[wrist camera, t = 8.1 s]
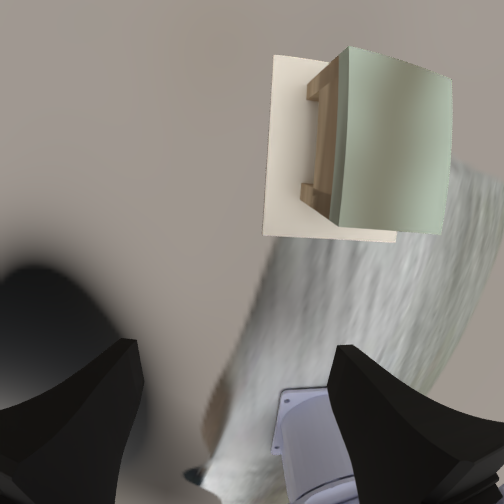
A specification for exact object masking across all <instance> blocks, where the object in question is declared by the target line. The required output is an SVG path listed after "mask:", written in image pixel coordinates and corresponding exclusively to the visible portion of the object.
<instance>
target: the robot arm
mask: <svg viewBox="0 0 504 504" xmlns="http://www.w3.org/2000/svg"><path fill="white" fill-rule="evenodd" d="M143 386H144V377H143V372H142V367H141V362H140V356H139V350H138V344H137V340H133V339H125V338H121V339H119V340H118V341H117V342H115V343H114V344H113V345H112V346H110V347H109V348H108V349H107V350H105V351H104V352H103V353H102V354H100V355H99V356H98V357H97V358H95V359H94V360H93V361H91V362H90V363H89V364H88V365H86V366H85V367H84V368H82V369H81V370H79V371H78V372H77V373H75V374H73V375H72V376H71V377H69V378H68V379H66V380H65V381H64V382H62V383H60V384H58V385H57V386H55V387H53V388H52V389H50V390H48V391H46V392H44V393H42V394H41V395H38V396H36V397H34V398H31V399H30V400H27V401H25V402H22V403H20V404H18V405H15V406H12V407H9V408H6V409H3V410H0V504H115V496H116V488H117V481H118V475H119V469H120V464H121V459H122V455H123V452H124V448H125V446H126V442H127V440H128V437H129V434H130V431H131V428H132V425H133V422H134V419H135V417H136V414H137V411H138V408H139V405H140V401H141V396H142V391H143ZM286 399H288V400H286ZM271 454H272V455H281V456H282V462H283V469H284V475H285V482H286V488H287V494H288V499H289V501H290V503H289V504H504V484H503V485H502V486H500V487H499V488H498V487H497V485H496V484H495V483H496V482H498V481H499V477H498V475H497V473H496V472H497V471H498V470H499V469H500V468H501V467H502V466H503V465H504V423H503V422H497V421H492V420H486V419H482V418H478V417H474V416H471V415H468V414H465V413H462V412H459V411H456V410H454V409H451V408H449V407H446V406H444V405H442V404H440V403H438V402H436V401H434V400H432V399H430V398H428V397H426V396H424V395H422V394H420V393H419V392H417V391H415V390H414V389H412V388H411V387H409V386H408V385H406V384H405V383H403V382H402V381H400V380H399V379H397V378H396V377H394V376H393V375H392V374H390V373H389V372H388V371H386V370H385V369H384V368H382V367H381V366H380V365H379V364H377V363H376V362H375V361H373V360H372V359H371V358H370V357H368V356H367V355H366V354H365V353H363V352H362V351H361V350H359V349H358V348H357V347H355V346H354V345H337V348H336V352H335V356H334V360H333V364H332V368H331V372H330V375H329V379H328V383H327V388H318V389H300V390H285V391H283V392H282V394H281V398H280V404H279V410H278V415H277V421H276V426H275V431H274V436H273V442H272V447H271Z"/></svg>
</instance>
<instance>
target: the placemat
mask: <svg viewBox="0 0 504 504" xmlns="http://www.w3.org/2000/svg"><path fill="white" fill-rule="evenodd" d="M328 64H329V63H328V62H323V61H317V60H311V59H304V58H297V57H289V56H281V55H274V56H273V68H272V84H271V85H272V86H271V101H270V119H269V134H268V150H267V151H268V152H267V167H266V181H265V196H264V211H263V226H262V235H263V236H281V237H302V238H321V239H339V240H357V241H374V242H390V243H395V241H396V235H397V231H389V230H375V229H361V228H347V227H338V226H336V225H335V224H334V223H332V222H331V221H329V220H328V219H327V218H325V217H324V216H322V215H321V214H320V213H318V212H317V211H315V210H314V209H313V208H311V207H310V206H308V205H307V204H305V203H304V202H303V201H301V200H300V192H301V183H309V184H313V183H314V170H315V157H316V142H317V125H318V105H319V102H318V101H311V100H306V97H307V84H308V83H309V82H310V81H311V80H312V79H313V78H314V77H315V76H316V75H317V74H319V73H320V72H321V71H322V70H323V69H324V68H325V67H326V66H327V65H328Z"/></svg>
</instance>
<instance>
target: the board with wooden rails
mask: <svg viewBox="0 0 504 504" xmlns="http://www.w3.org/2000/svg"><path fill="white" fill-rule="evenodd" d="M306 100H311V101H318V102H319V105H318V125H317V142H316V157H315V170H314V183H313V184H309V183H301V192H300V200H301V201H303V202H304V203H305V204H307V205H308V206H310V207H311V208H313V209H314V210H315V211H317V212H318V213H320V214H321V215H322V216H324V217H325V218H327V219H328V220H329V221H331V222H332V223H334V224H335V225H336V226H338V227H347V228H361V229H375V230H389V231H401V232H413V233H425V234H436V235H441V231H442V225H443V219H444V213H445V206H446V199H447V191H448V183H449V173H450V161H451V146H452V79H449V78H447V77H445V76H442V75H440V74H437V73H435V72H432V71H430V70H427V69H424V68H422V67H419V66H416V65H413V64H410V63H408V62H404V61H402V60H399V59H395V58H392V57H389V56H386V55H382V54H379V53H375V52H371V51H367V50H364V49H360V48H356V47H351V46H348V47H347V48H346V49H345V50H344V51H343V52H342V53H340V54H339V55H338V56H337V57H336V58H335V59H334V60H333V61H332V62H331V63H329V64H328V65H327V66H326V67H325V68H324V69H323V70H322V71H321V72H320V73H319V74H317V75H316V76H315V77H314V78H313V79H312V80H311V81H310V82H309V83H308V84H307V97H306Z"/></svg>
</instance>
